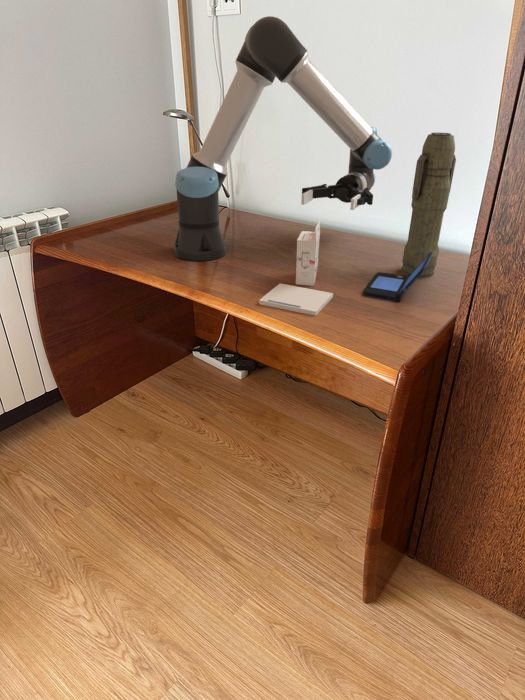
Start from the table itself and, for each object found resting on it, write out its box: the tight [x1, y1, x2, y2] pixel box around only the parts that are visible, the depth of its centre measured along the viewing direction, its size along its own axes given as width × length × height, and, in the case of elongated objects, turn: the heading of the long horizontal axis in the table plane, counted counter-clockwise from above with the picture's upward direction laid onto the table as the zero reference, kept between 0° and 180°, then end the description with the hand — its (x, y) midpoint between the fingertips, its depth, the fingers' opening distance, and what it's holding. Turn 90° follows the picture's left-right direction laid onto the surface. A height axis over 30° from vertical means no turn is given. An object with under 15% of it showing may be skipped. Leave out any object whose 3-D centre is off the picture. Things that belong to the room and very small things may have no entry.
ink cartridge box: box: [295, 220, 321, 287], centre depth 128 cm, size 9×5×15 cm, turn 168°
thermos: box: [401, 132, 457, 278], centre depth 130 cm, size 9×12×35 cm
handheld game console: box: [362, 252, 433, 303], centre depth 124 cm, size 16×13×9 cm
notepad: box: [258, 283, 334, 316], centre depth 119 cm, size 14×12×1 cm
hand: (326, 202), depth 132 cm, fingers open, 13 cm apart
